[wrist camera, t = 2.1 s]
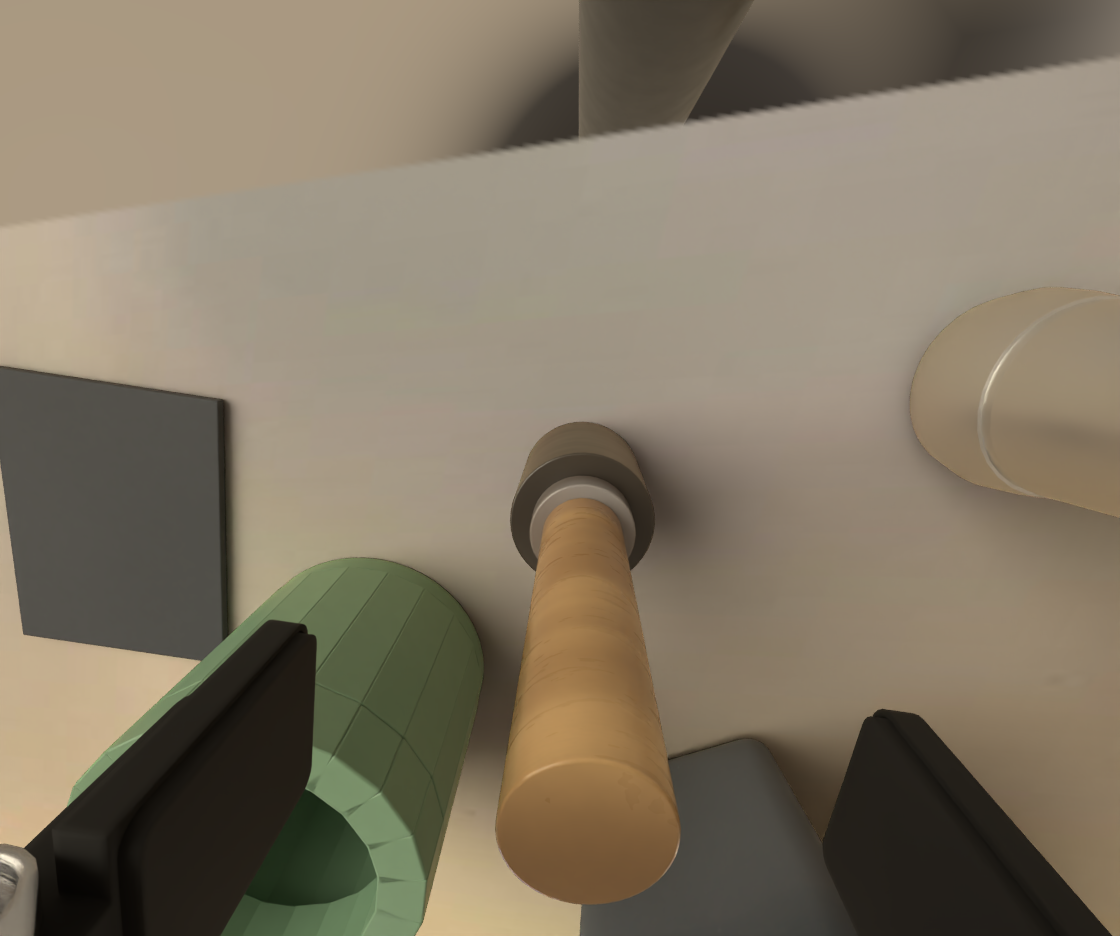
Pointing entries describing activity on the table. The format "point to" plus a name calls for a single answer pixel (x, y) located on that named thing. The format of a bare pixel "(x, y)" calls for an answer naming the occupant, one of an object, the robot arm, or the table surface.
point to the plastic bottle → (1028, 396)
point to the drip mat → (115, 512)
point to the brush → (585, 682)
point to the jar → (358, 750)
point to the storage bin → (733, 858)
